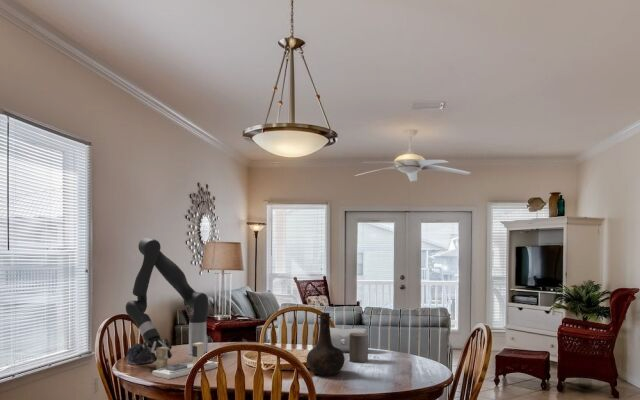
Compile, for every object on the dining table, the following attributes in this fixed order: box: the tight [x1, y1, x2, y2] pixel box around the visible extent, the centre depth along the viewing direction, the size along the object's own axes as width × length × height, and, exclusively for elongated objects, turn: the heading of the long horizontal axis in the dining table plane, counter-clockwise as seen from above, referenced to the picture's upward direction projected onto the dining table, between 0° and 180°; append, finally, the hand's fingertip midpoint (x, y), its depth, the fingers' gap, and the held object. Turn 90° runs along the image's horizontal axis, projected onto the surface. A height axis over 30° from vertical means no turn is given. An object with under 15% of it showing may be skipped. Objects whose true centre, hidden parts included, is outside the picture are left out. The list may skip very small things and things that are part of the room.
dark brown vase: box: [306, 312, 345, 376], centre depth 270 cm, size 18×18×28 cm
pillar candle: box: [348, 331, 369, 364], centre depth 296 cm, size 10×10×15 cm
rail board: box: [152, 342, 218, 380], centre depth 275 cm, size 30×12×12 cm, turn 142°
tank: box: [330, 327, 369, 353], centre depth 320 cm, size 25×16×12 cm, turn 81°
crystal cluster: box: [125, 343, 154, 366], centre depth 295 cm, size 13×14×10 cm
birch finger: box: [155, 346, 169, 370], centre depth 281 cm, size 4×4×10 cm
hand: (163, 358), depth 280 cm, fingers open, 8 cm apart
